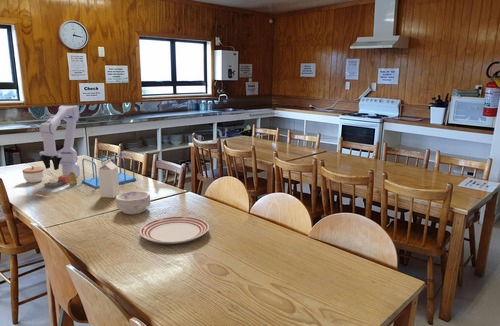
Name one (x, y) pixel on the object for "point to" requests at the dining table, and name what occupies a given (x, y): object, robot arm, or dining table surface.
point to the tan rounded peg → (72, 178)
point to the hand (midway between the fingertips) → (52, 168)
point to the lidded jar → (33, 174)
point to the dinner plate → (174, 229)
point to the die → (64, 179)
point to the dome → (53, 181)
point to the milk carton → (108, 179)
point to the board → (60, 188)
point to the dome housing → (53, 184)
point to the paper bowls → (133, 202)
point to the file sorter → (121, 176)
